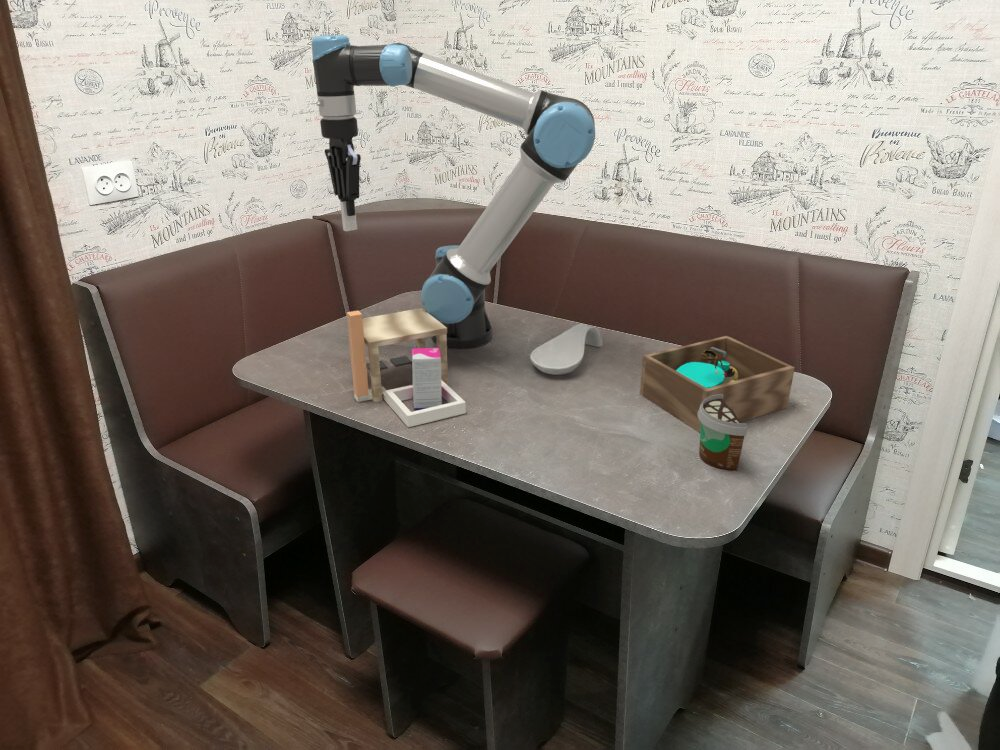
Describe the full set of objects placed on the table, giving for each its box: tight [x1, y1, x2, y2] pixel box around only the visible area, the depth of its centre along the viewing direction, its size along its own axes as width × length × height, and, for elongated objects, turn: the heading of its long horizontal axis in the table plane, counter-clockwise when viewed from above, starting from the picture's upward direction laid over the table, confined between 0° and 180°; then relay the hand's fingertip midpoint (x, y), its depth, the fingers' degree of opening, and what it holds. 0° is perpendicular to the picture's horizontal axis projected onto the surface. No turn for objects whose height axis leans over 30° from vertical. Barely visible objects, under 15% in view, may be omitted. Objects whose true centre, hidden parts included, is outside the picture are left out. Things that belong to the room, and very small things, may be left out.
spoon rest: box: [529, 323, 603, 376], centre depth 172 cm, size 24×12×7 cm, turn 145°
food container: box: [697, 394, 748, 472], centre depth 132 cm, size 12×6×10 cm, turn 5°
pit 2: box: [389, 355, 412, 367], centre depth 173 cm, size 4×4×1 cm
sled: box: [346, 310, 467, 428], centre depth 149 cm, size 18×17×19 cm
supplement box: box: [411, 347, 443, 412], centre depth 151 cm, size 6×6×12 cm
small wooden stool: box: [362, 307, 449, 403], centre depth 160 cm, size 17×14×14 cm
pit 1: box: [366, 359, 389, 371], centre depth 170 cm, size 4×4×1 cm
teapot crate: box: [639, 335, 796, 434], centre depth 153 cm, size 23×19×9 cm
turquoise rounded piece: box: [676, 347, 738, 388], centre depth 152 cm, size 14×18×15 cm
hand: (350, 229), depth 164 cm, fingers closed
